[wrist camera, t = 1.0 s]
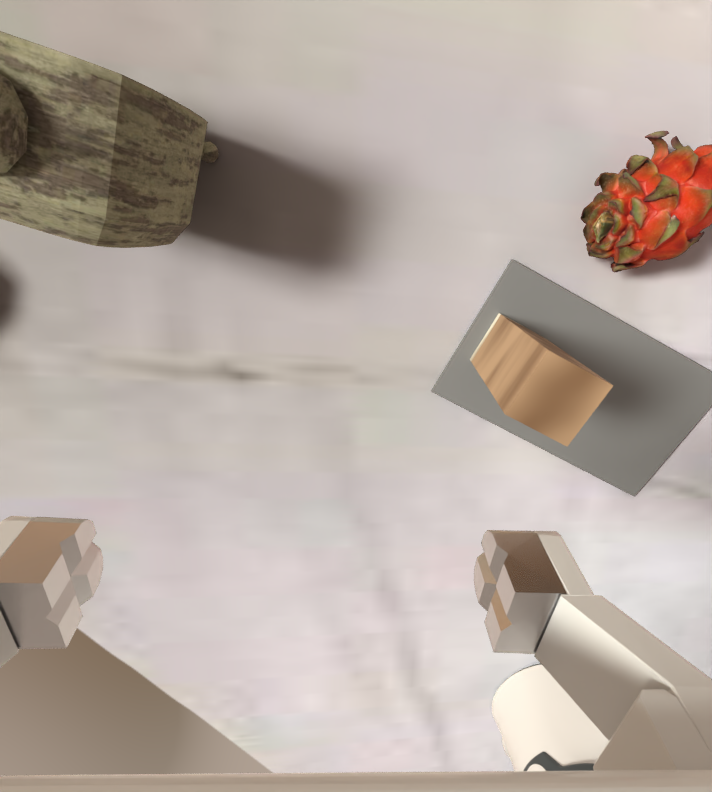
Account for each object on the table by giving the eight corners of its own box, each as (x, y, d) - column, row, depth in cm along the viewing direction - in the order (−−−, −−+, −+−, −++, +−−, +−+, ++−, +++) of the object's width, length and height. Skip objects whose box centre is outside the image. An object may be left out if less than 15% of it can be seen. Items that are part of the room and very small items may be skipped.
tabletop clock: (238, 138, 40) (33, 15, 17) (217, 245, 43) (19, 268, 20) (70, 82, 40) (-388, -127, 16) (61, 195, 43) (-337, 157, 19)
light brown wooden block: (545, 338, 44) (613, 385, 31) (514, 383, 46) (567, 446, 32) (498, 312, 44) (548, 350, 30) (469, 359, 45) (504, 414, 32)
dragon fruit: (550, 249, 43) (663, 162, 42) (620, 313, 40) (744, 221, 39) (557, 189, 36) (696, 79, 34) (644, 262, 32) (801, 145, 31)
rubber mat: (728, 381, 45) (731, 382, 44) (632, 494, 49) (634, 496, 49) (511, 259, 42) (512, 259, 42) (431, 390, 47) (431, 391, 46)
